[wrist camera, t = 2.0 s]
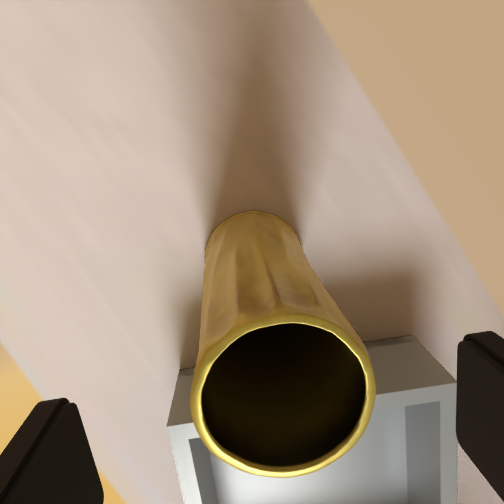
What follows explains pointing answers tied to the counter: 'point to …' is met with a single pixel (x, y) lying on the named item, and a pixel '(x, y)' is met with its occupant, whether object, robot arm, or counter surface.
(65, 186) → the counter surface
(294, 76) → the counter surface
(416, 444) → the box
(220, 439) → the vase
